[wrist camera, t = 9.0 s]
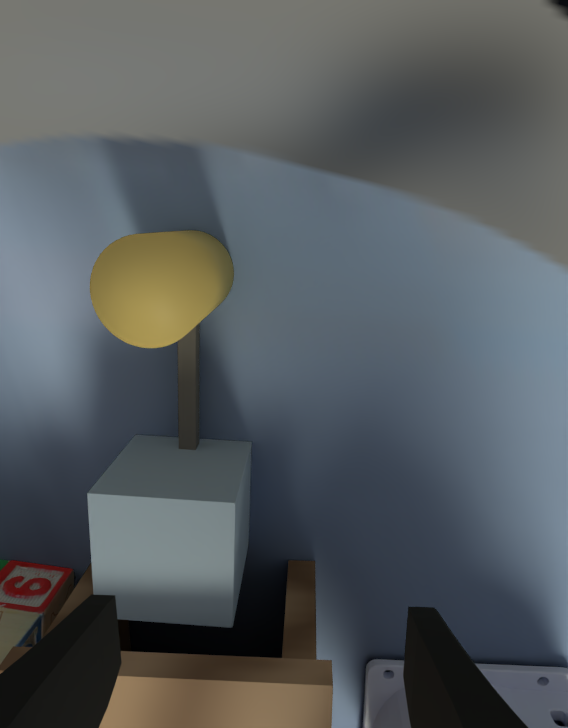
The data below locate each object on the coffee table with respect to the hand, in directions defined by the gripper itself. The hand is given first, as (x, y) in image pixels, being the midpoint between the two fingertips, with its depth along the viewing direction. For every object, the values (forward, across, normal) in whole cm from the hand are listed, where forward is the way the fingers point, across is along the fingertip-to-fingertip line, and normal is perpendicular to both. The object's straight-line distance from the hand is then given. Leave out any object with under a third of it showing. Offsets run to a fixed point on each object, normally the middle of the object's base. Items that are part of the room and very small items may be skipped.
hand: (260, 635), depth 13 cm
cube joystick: (+10, +4, -3) cm, 11 cm away
